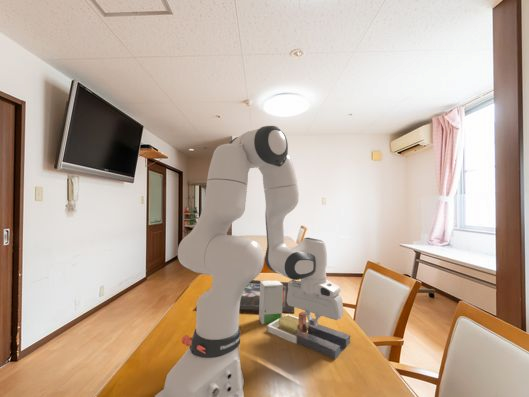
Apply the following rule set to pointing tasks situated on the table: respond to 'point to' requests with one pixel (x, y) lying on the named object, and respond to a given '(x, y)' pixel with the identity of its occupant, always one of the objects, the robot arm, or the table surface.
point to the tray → (283, 334)
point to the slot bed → (324, 340)
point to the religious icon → (252, 298)
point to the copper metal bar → (302, 322)
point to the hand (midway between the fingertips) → (312, 324)
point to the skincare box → (270, 301)
